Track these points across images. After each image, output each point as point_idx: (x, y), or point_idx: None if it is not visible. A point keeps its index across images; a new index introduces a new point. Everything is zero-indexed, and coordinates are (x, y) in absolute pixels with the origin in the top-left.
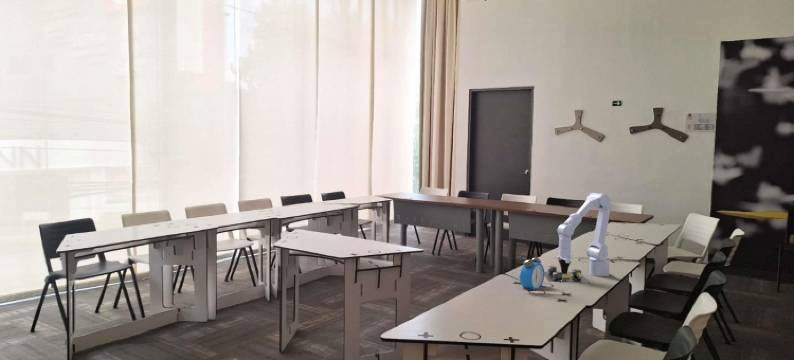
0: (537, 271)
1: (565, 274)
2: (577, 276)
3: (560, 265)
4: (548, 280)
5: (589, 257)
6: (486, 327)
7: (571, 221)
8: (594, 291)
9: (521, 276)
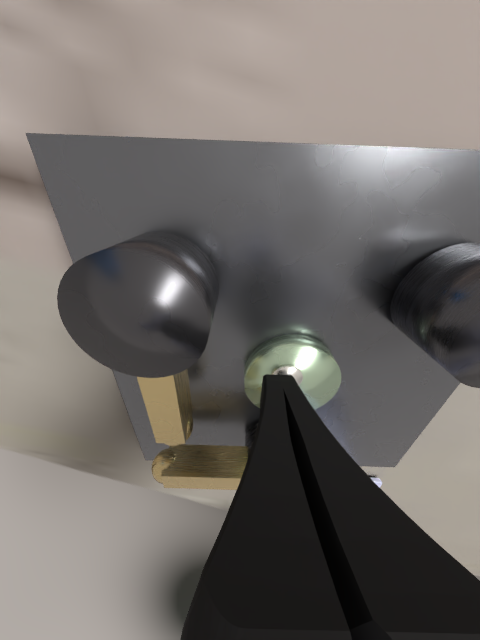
0: None
1: (144, 396)
2: (211, 448)
3: (331, 468)
4: (98, 146)
5: None
6: None
7: None
8: (12, 433)
9: None
